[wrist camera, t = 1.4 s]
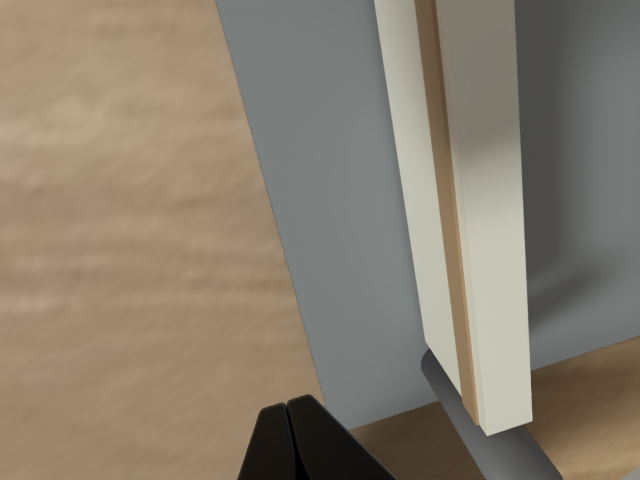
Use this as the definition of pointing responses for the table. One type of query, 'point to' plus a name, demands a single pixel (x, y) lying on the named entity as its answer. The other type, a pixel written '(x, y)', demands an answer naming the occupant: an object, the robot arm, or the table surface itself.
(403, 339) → the board
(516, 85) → the gate
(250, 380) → the table surface
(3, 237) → the table surface
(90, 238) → the table surface
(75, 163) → the table surface
